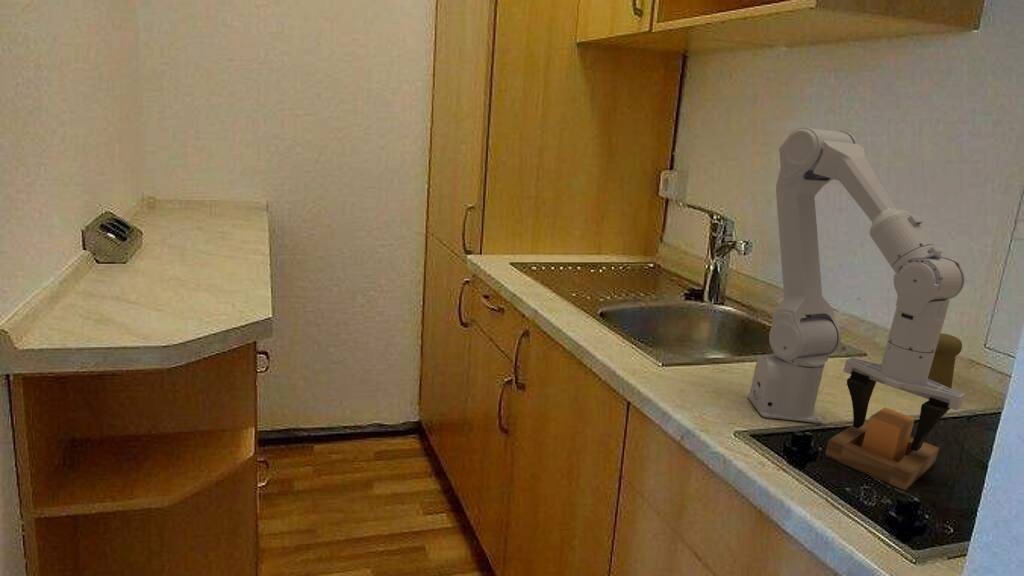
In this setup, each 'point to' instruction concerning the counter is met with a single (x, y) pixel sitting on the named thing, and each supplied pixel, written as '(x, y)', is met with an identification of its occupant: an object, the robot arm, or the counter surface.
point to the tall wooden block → (888, 433)
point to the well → (880, 458)
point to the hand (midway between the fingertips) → (886, 437)
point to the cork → (945, 360)
